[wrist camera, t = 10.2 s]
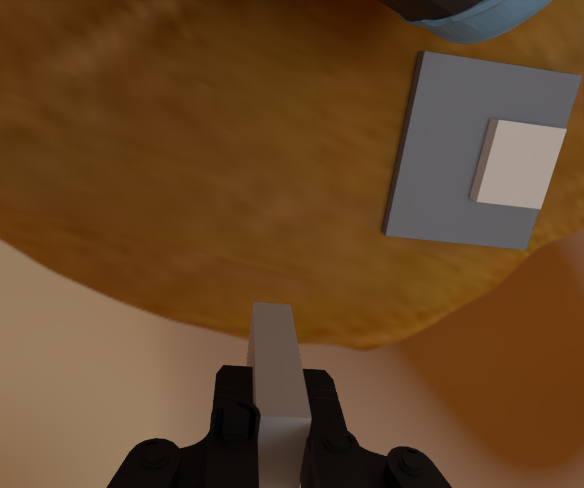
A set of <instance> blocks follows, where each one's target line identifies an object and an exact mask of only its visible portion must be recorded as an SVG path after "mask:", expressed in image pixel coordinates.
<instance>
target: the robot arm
mask: <svg viewBox="0 0 584 488" xmlns="http://www.w3.org/2000/svg"><path fill="white" fill-rule="evenodd" d="M379 1H380V2H382V3H383V4H385V5H387V6H388V7H390V8H391V9H393V10H394V11H396V13H397V14H398V16H399V17H400V18H401V19H403V20H404V21H405V22H407V23H411V24H413V25H414V26H420V27H423V28H425V29H427V30H429V31H430V32H432V33H434V34H436V35H437V36H439V37H441V38H443V39H444V40H446V41H449V42H453V43H458V44H472V43H479V42H483V41H487V40H489V39H492V38H495V37H497V36H499V35H501V34H504V33H506V32H508V31H509V30H511V29H513V28H515V27H516V26H518V25H520V24H521V23H523V22H525V21H526V20H528V19H529V18H530V17H532V16H533V15H535V14H536V13H537V12H539V11H540V10H541V9H543V8H544V7H545V6H546V5H548V4H549V3H550V2H552V1H553V0H379ZM300 483H301V488H452V487H451V486H450V484H449V483H448V482H447V481H446V479H445V478H444V477H443V475H442V474H441V473H440V471H439V470H438V469H437V467H436V466H435V465H434V463H433V462H432V461H431V460H430V459H429V458H428V457H427V456H426V455H425V454H424V453H422V452H420V451H418V450H417V449H413V448H410V447H401V446H399V447H396V448H393V449H392V450H391V451H390V452H389V453H388V455H387V456H384V455H380V454H377V453H374V452H371V451H368V450H366V449H364V448H362V447H361V446H359V443H358V442H357V440H356V438H355V437H354V436H353V435H352V434H351V433H350V432H349V431H347V428H346V424H345V420H344V417H343V413H342V409H341V406H340V403H339V401H338V395H337V392H336V389H335V384H334V381H333V379H332V378H331V377H330V375H329V374H328V373H327V372H326V371H325V370H316V369H302V364H301V358H300V353H299V347H298V342H297V337H296V331H295V326H294V321H293V315H292V310H291V305H289V304H276V303H263V302H253V310H252V319H251V328H250V336H249V345H248V353H247V366H231V365H223V366H222V368H221V369H220V370H219V371H218V372H217V374H216V382H215V391H214V400H213V409H212V413H211V423H210V431H209V433H208V434H207V436H206V437H205V438H204V439H203V440H201V441H200V442H198V443H196V444H194V445H191V446H188V447H184V448H179V447H178V446H177V445H176V444H174V442H171V441H169V440H166V439H159V438H154V439H150V440H145V441H143V442H141V443H139V444H137V445H136V446H135V447H134V448H133V449H132V450H131V451H130V452H129V454H128V455H127V457H126V458H125V460H124V461H123V463H122V465H121V466H120V468H119V469H118V471H117V472H116V474H115V475H114V477H113V478H112V480H111V481H110V483H109V485H108V486H107V488H299V486H300Z"/></svg>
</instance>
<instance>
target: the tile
mask: <svg viewBox="0 0 584 488" xmlns="http://www.w3.org/2000/svg"><path fill="white" fill-rule="evenodd" d="M566 130H567V129H562V128H556V127H549V126H542V125H535V124H528V123H521V122H513V121H506V120H499V119H492V118H491V119H490V122H489V126H488V130H487V134H486V137H485V141H484V145H483V148H482V152H481V156H480V160H479V163H478V167H477V171H476V174H475V178H474V182H473V186H472V189H471V193H470V197H469V198H470V199H472V200H474V201H476V202H482V203H490V204H499V205H508V206H517V207H526V208H534V209H541V207H542V204H543V201H544V198H545V195H546V192H547V188H548V185H549V182H550V179H551V176H552V173H553V170H554V167H555V164H556V161H557V158H558V155H559V152H560V148H561V145H562V142H563V139H564V136H565V133H566Z"/></svg>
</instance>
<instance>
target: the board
mask: <svg viewBox="0 0 584 488" xmlns="http://www.w3.org/2000/svg"><path fill="white" fill-rule="evenodd" d="M581 79H582V76H580V75H574V74H568V73H561V72H555V71H548V70H542V69H536V68H529V67H523V66H517V65H510V64H504V63H497V62H491V61H485V60H478V59H472V58H466V57H459V56H453V55H446V54H440V53H434V52H427V51H422V52H419V55H418V59H417V64H416V69H415V74H414V79H413V83H412V88H411V93H410V98H409V103H408V107H407V112H406V117H405V122H404V126H403V131H402V136H401V141H400V146H399V150H398V155H397V160H396V165H395V170H394V174H393V179H392V184H391V189H390V194H389V198H388V203H387V208H386V213H385V217H384V222H383V227H382V232H383V233H384V234H385V236H393V237H403V238H413V239H423V240H433V241H443V242H453V243H463V244H473V245H483V246H493V247H503V248H513V249H523V250H526V249H527V246H528V243H529V240H530V237H531V234H532V230H533V227H534V224H535V221H536V218H537V215H538V212H539V209H534V208H526V207H517V206H508V205H499V204H490V203H482V202H476V201H474V200H472V199H470V198H469V197H470V193H471V189H472V186H473V182H474V178H475V174H476V171H477V167H478V163H479V160H480V156H481V152H482V148H483V145H484V141H485V137H486V134H487V130H488V126H489V122H490V119H491V118H492V119H499V120H506V121H513V122H521V123H528V124H535V125H542V126H549V127H556V128H562V129H566V126H567V122H568V119H569V116H570V113H571V110H572V107H573V104H574V101H575V98H576V95H577V92H578V89H579V85H580V82H581Z"/></svg>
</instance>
